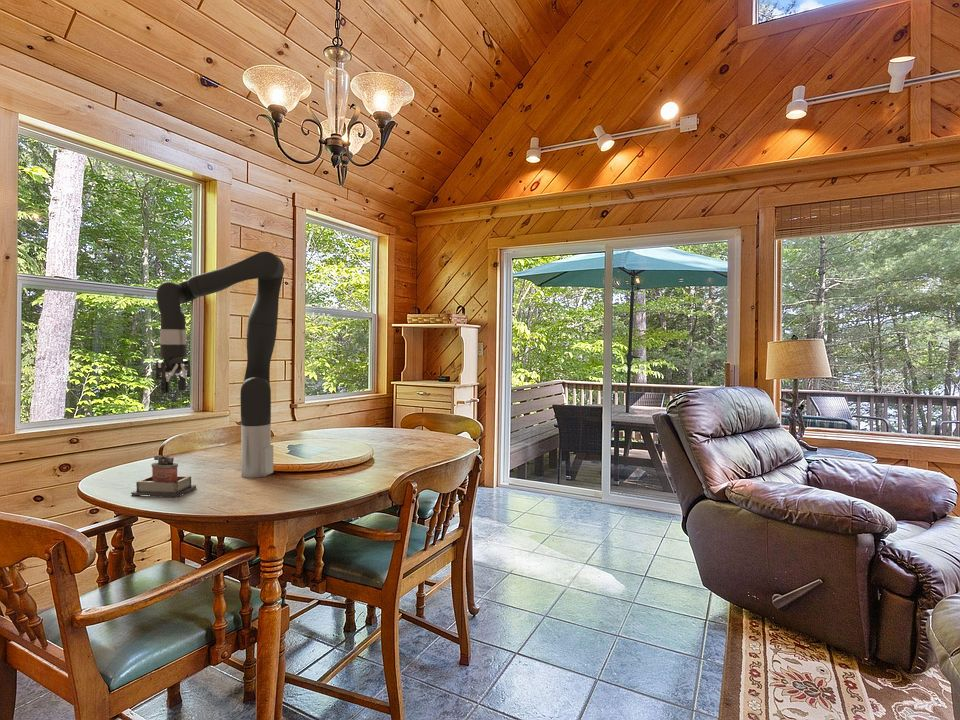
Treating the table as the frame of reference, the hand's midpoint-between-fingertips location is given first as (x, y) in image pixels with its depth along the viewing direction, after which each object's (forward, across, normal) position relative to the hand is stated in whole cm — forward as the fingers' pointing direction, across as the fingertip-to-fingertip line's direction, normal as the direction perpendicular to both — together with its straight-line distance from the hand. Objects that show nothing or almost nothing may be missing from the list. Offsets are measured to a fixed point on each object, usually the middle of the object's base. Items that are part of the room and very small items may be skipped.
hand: (173, 392), depth 171 cm
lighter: (+27, -18, -9) cm, 34 cm away
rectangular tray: (+28, -18, -9) cm, 34 cm away
